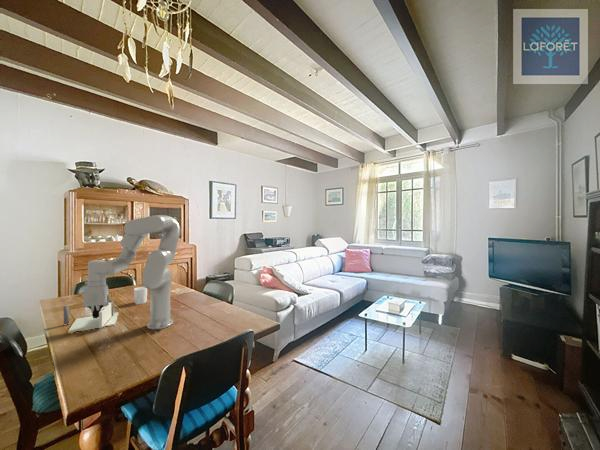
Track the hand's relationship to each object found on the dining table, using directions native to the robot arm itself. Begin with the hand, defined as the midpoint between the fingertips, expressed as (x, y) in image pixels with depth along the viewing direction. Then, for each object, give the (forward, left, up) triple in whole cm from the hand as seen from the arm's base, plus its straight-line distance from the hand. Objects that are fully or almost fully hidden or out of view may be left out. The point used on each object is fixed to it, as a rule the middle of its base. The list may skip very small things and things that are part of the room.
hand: (96, 317), depth 129 cm
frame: (+6, +3, -5) cm, 9 cm away
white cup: (+32, -19, -5) cm, 38 cm away
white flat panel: (+1, -4, -4) cm, 5 cm away
